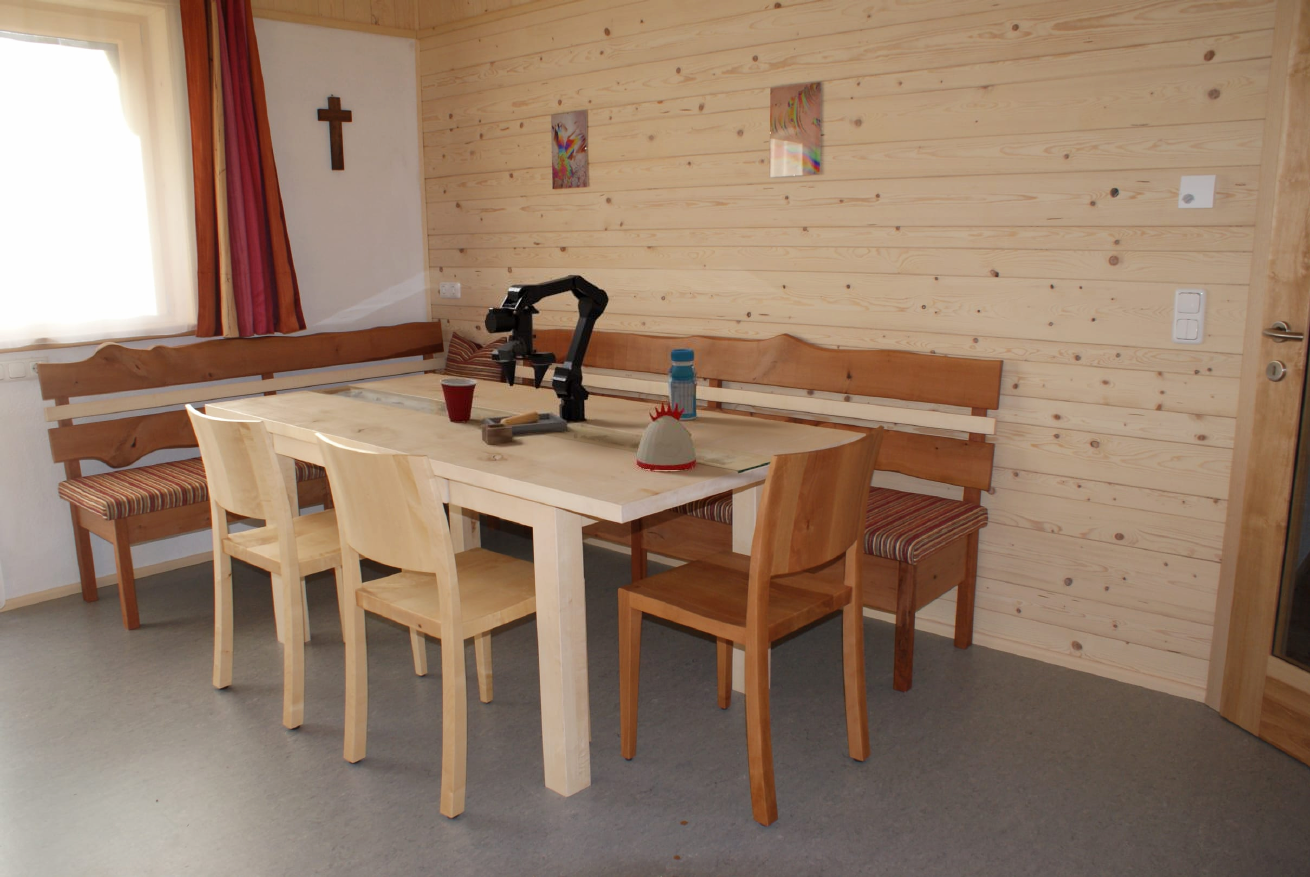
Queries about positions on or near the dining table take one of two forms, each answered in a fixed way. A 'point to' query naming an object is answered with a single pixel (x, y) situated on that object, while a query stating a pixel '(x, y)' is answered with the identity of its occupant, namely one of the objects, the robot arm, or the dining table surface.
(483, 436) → the walnut socket block
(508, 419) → the tan dowel pin
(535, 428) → the charcoal tray
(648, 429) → the chicken hat
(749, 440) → the dining table surface
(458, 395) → the plastic cup
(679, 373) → the beverage bottle
